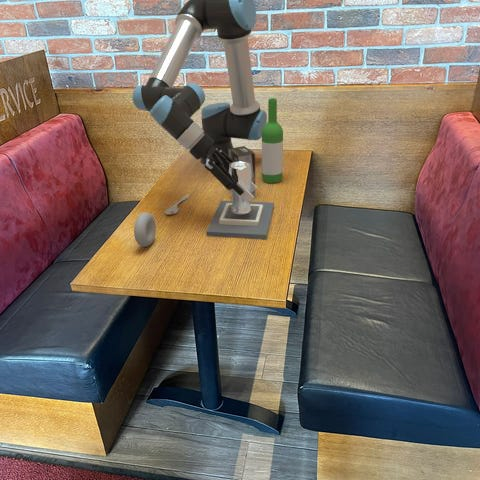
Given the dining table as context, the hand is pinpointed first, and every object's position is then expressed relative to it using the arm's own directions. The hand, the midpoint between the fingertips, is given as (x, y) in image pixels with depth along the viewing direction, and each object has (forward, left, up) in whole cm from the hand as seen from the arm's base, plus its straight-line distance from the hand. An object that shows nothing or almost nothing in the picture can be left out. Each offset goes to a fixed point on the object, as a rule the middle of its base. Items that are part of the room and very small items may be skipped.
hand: (252, 194), depth 138 cm
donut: (+18, -28, -9) cm, 35 cm away
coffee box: (-20, -6, -9) cm, 23 cm away
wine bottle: (-34, +3, -9) cm, 35 cm away
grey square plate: (0, -3, -9) cm, 10 cm away
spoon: (-10, -27, -10) cm, 30 cm away
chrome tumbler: (0, -4, -6) cm, 7 cm away
